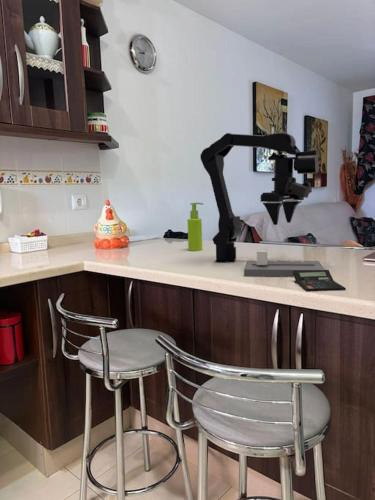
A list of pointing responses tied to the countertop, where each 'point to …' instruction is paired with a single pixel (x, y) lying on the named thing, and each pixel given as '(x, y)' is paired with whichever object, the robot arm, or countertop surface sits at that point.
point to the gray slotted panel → (280, 268)
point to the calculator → (316, 280)
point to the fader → (261, 256)
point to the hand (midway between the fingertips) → (282, 223)
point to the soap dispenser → (194, 230)
